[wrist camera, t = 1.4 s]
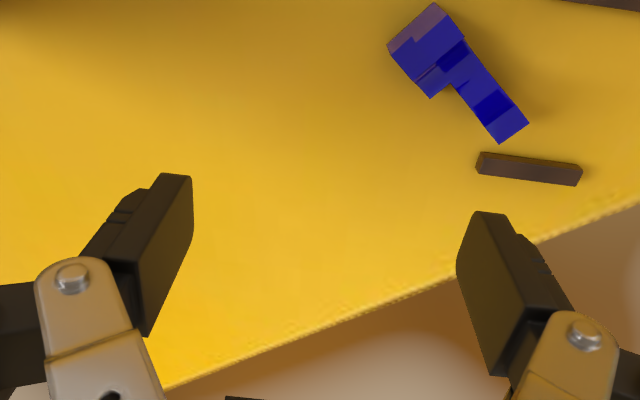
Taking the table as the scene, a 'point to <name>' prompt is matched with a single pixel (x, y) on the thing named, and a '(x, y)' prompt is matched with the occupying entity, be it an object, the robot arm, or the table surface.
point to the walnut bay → (534, 167)
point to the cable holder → (454, 70)
